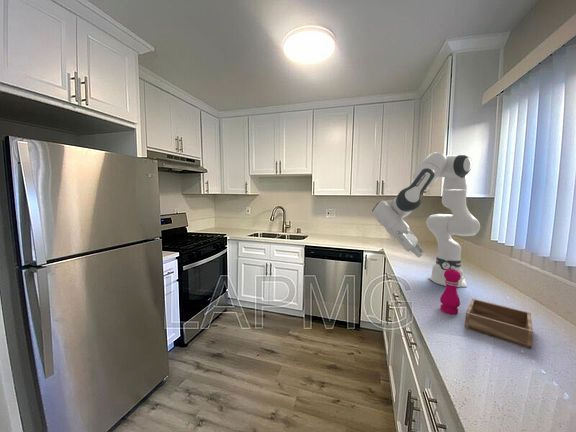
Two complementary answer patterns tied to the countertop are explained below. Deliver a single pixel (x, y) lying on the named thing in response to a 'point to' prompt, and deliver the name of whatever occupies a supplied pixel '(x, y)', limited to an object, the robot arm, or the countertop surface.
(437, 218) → the robot arm
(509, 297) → the countertop surface
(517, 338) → the tray
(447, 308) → the pepper mill
